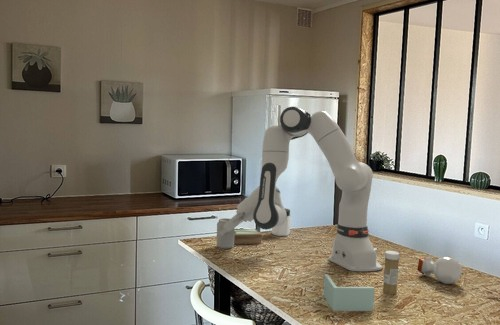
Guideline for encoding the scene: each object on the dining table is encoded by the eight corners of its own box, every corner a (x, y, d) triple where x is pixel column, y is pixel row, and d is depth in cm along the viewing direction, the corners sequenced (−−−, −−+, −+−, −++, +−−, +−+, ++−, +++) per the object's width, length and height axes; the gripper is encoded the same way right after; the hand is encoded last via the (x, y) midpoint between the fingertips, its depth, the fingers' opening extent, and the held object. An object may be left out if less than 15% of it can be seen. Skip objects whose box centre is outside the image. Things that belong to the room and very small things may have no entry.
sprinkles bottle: (380, 289, 155) (382, 250, 154) (393, 289, 155) (396, 250, 154) (385, 295, 150) (388, 254, 149) (399, 294, 151) (402, 254, 150)
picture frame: (261, 243, 209) (261, 233, 208) (234, 244, 206) (235, 234, 206) (255, 237, 219) (256, 228, 218) (230, 238, 216) (230, 229, 215)
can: (237, 246, 202) (238, 219, 201) (227, 250, 196) (228, 222, 195) (223, 243, 206) (223, 216, 205) (212, 247, 200) (213, 219, 199)
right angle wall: (373, 312, 138) (374, 287, 137) (332, 312, 137) (334, 287, 136) (360, 297, 149) (361, 274, 149) (323, 297, 148) (324, 274, 148)
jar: (287, 231, 232) (288, 208, 231) (291, 235, 224) (292, 211, 223) (270, 231, 231) (270, 208, 230) (273, 236, 223) (274, 211, 222)
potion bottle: (458, 292, 159) (421, 284, 172) (471, 272, 163) (434, 265, 176) (447, 272, 156) (410, 265, 169) (461, 252, 160) (424, 247, 173)
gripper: (245, 221, 187) (221, 243, 190) (257, 212, 207) (235, 232, 210) (235, 209, 188) (211, 231, 191) (247, 201, 208) (226, 221, 211)
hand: (224, 231), depth 201 cm, fingers open, 8 cm apart
